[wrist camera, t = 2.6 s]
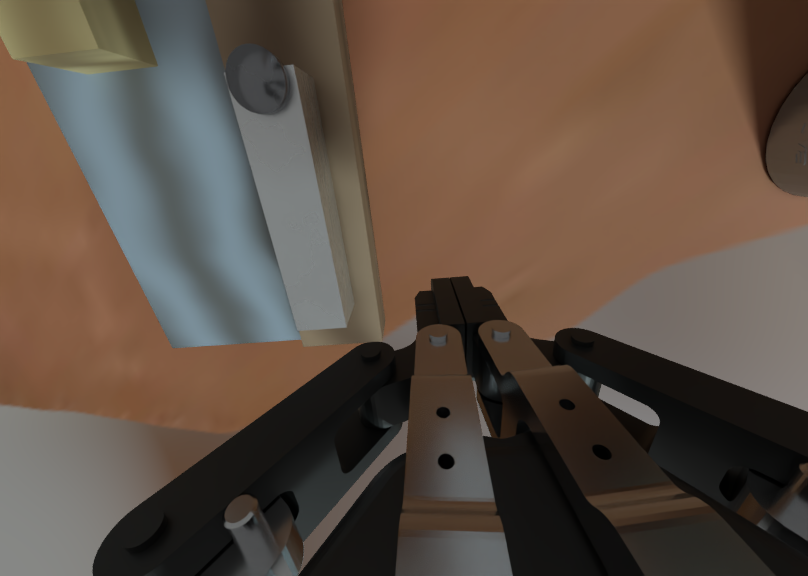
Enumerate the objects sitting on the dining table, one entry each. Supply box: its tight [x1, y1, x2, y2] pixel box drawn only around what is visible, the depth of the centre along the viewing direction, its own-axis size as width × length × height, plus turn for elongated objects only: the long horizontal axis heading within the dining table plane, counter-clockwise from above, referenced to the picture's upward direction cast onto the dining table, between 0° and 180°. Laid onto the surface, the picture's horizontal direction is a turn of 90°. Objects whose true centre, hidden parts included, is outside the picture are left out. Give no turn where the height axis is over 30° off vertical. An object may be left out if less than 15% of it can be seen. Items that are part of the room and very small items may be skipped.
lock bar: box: [224, 43, 354, 331], centre depth 17 cm, size 14×3×4 cm, turn 5°
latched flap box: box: [0, 0, 385, 348], centre depth 18 cm, size 17×24×6 cm
